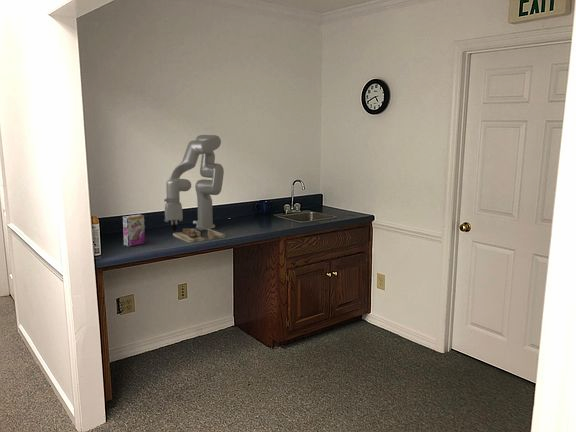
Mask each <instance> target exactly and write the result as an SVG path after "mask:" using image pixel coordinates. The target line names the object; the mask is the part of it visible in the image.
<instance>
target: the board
mask: <svg viewBox="0 0 576 432" xmlns="http://www.w3.org/2000/svg"><path fill="white" fill-rule="evenodd" d="M207 230H208V237H206V238H201V232H199V231H196V230H195V232H196V233H197V237H195V238H190V236H188V235H186V234H185V233H183V231H181V232H180V231H179V232H173V233H172V236H173V237H175V238H177V239H180V240H182V241H185V242H186V243H197V242H202V241H203V240H204V241H207V240H208V241H210V240H215V239H217V240H218V239H224V238H226V237H227V234H225V233H222V232H219V231H217V230H215V229H214V230H213V229H207ZM204 241H203V242H204Z"/></svg>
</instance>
